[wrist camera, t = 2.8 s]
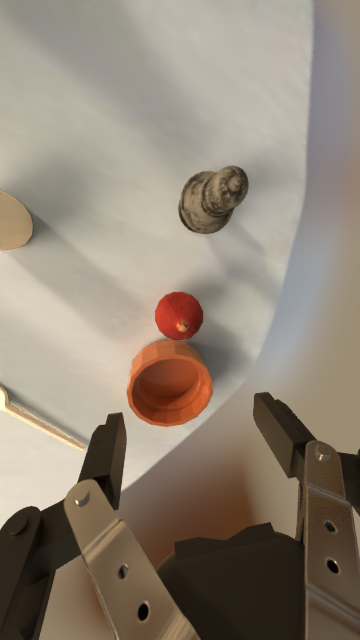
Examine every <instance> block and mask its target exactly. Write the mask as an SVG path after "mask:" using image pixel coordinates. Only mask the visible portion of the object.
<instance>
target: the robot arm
mask: <svg viewBox="0 0 360 640" xmlns="http://www.w3.org/2000/svg"><path fill="white" fill-rule="evenodd" d="M253 416H254V420H255V423H256V425H257V427H258V428H259V430H260V432H261V433H262V435H263V437H264V438H265V440H266V442H267V443H268V445H269V447H270V449H271V450H272V452H273V454H274V455H275V457H276V458H277V460H278V462H279V464H280V465H281V467H282V469H283V470H284V472H285V474H286V475H287V477H288V478H293V477H296V478H297V479H298V481H299V490H298V513H297V528H296V537H295V539H294V538H292V537H290V536H288V535H285V534H283V533H279V532H275V531H274V530H273V527H272V525H271V523H270V522H269V523H264V524H259V525H254V526H250V527H247V528H245V529H244V530H242V531H240V532H239V533H237V534H236V535H234V536H232V537H231V538H229V539H228V540H217V539H209V538H201V537H197V538H192V539H188V540H183V541H178V542H175V552H174V553H172V554H171V555H169V556H168V557H167V558H166V559H165V560H164V561H163V562H162V563H161V564H160V565H159V566H158V567H157V569H156V570H154V568H153V566H152V565H151V563H150V562H149V560H148V558H147V557H146V555H145V553H144V552H143V550H142V549H141V547H140V545H139V544H138V542H137V541H136V539H135V538H134V536H133V534H132V533H131V531H130V529H129V528H128V526H127V525H126V523H125V522H124V520H123V519H121V520H120V519H119V517H118V516H117V514H116V513H115V511H114V510H118V508H119V499H120V492H121V484H122V476H123V468H124V460H125V451H126V442H127V437H126V429H125V424H124V419H123V414H122V412H120V413H113V414H108V417H107V420H106V424H105V425H99V426H98V427H97V429H96V430H95V431H94V433H93V434H92V437H91V441H90V444H89V447H88V452H87V453H86V457H85V460H84V463H83V466H82V470H81V473H80V476H79V479H78V482H77V484H76V485H75V486H74V487H73V488H72V489H71V490H70V491H69V492H68V494H67V496H66V498H64V499H63V500H62V501H60V502H58V503H56V504H54V505H52V506H50V507H48V508H46V509H44V510H42V511H40V510H39V509H38V508H37V507H34V506H30V507H26V508H23V509H21V510H19V511H18V512H16V513H15V514H14V515H13V516H11V517H10V518H9V519H8V520H7V521H6V523H5V524H4V525H3V527H2V528H1V530H0V640H39V636H40V632H41V628H42V624H43V620H44V616H45V612H46V608H47V604H48V600H49V596H50V592H51V588H52V584H53V580H54V576H55V572H56V569H58V568H60V567H61V566H63V565H64V564H66V563H68V562H69V561H71V560H73V559H74V558H76V557H77V556H79V555H81V556H82V558H83V561H84V563H85V565H86V568H87V570H88V573H89V575H90V578H91V580H92V583H93V585H94V588H95V590H96V592H97V595H98V597H99V600H100V603H101V605H102V608H103V610H104V613H105V616H106V618H107V620H108V623H109V626H110V628H111V630H112V633H113V635H114V638H115V640H360V557H359V551H358V544H357V537H356V531H355V524H354V518H353V511H352V506H353V507H354V509H355V510H356V512H357V513H358V514H359V516H360V449H359V451H358V454H357V455H354V454H347V453H340V452H337V451H336V450H335V449H334V448H332V447H331V446H330V445H328V444H326V443H324V442H321V441H317V439H316V438H315V437H314V436H313V435H312V434H311V433H310V431H309V430H308V429H307V428H306V427H305V426H304V424H303V423H302V422H301V421H300V420H299V419H298V418H297V416H296V415H295V414H294V413H293V412H292V410H291V409H290V408H289V407H288V406H287V405H286V404H285V403H283V402H281V401H280V400H278V399H277V400H274V398H273V397H272V396H271V395H270V394H269V393H268V392H263V393H256V394H255V395H254V409H253Z"/></svg>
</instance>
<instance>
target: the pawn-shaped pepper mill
mask: <svg viewBox="0 0 360 640" xmlns="http://www.w3.org/2000/svg"><path fill="white" fill-rule="evenodd" d="M247 191H248V178H247V175H246V173H245V172H244V171H243V170H242V169H241V168H239V167H237V166H228V167H225V168H223V169H222V170H220V171H219V172H216V173H215V172H211V171H205V172H200V173H198V174H195V175H194V176H193V177H192V178H190V179H189V180H188V182H187V183H186V184H185V186H184V188H183V191H182V193H181V198H180V201H179V216H180V219H181V221H182V223H183V224H184V226H186V227H187V228H188V229H189V230H191V231H193V232H197V233H204V234H209V233H214V232H217V231H219V230H220V229H222V228H223V227H224V226H225V225H226V224H227V223H228V221H229V220H230V218H231V216H232V214H233V209H234V208H235V207H236V206H238V205H239V204H240V203H241V202H242V201H243V200H244V198H245V196H246V194H247Z"/></svg>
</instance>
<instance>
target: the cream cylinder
mask: <svg viewBox="0 0 360 640" xmlns="http://www.w3.org/2000/svg"><path fill="white" fill-rule="evenodd" d="M32 231H33V223H32V220H31V216H30V214H29V212H28V211H27V209H26V208H25V206H24V205H23V204H22V203H20V202H19V201H18V200H17V199H15V198H14V197H13V196H11V195H9V194H7V193H5V192H3V191H1V190H0V251H3V250H8V249H14V248H19V247H21V246H22V245H24V244H26V243H27V242H28V240H29V239H30V237H31V236H32Z"/></svg>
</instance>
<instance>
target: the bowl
mask: <svg viewBox="0 0 360 640" xmlns="http://www.w3.org/2000/svg"><path fill="white" fill-rule="evenodd" d="M212 393H213V387H212V378H211V375H210V373H209V371H208V369H207V367H206V365H205V363H204V361H203V359H202V357H201V355H200V354H199V352H198V351H197V350H196V349H194V348H193V347H192V346H190V345H189V344H188V343H185V342H180V341H176V340H164V341H157V342H155V343H153V344H151V345H149V346H147V347H145V348H143V349H142V350H141V352H140V353H139V354H138V355H137V356H136V357H135V359H134V360H133V362H132V366H131V369H130V373H129V379H128V386H127V397H128V402H129V407H130V408H131V409H132V410H133V412H134V413H135V414H136V416H137V417H138V418H140V419H142V420H143V421H145V422H147V423H149V424H151V425H157V426H164V427H169V426H175V425H181V424H184V423H186V422H188V421H190V420H192V419H194V418H196V417H197V416H198V415H199V414H200V413H201V412H202V411H203V410H204V409H205V408H206V407H207V405H208V403H209V401H210V398H211V396H212Z"/></svg>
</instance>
